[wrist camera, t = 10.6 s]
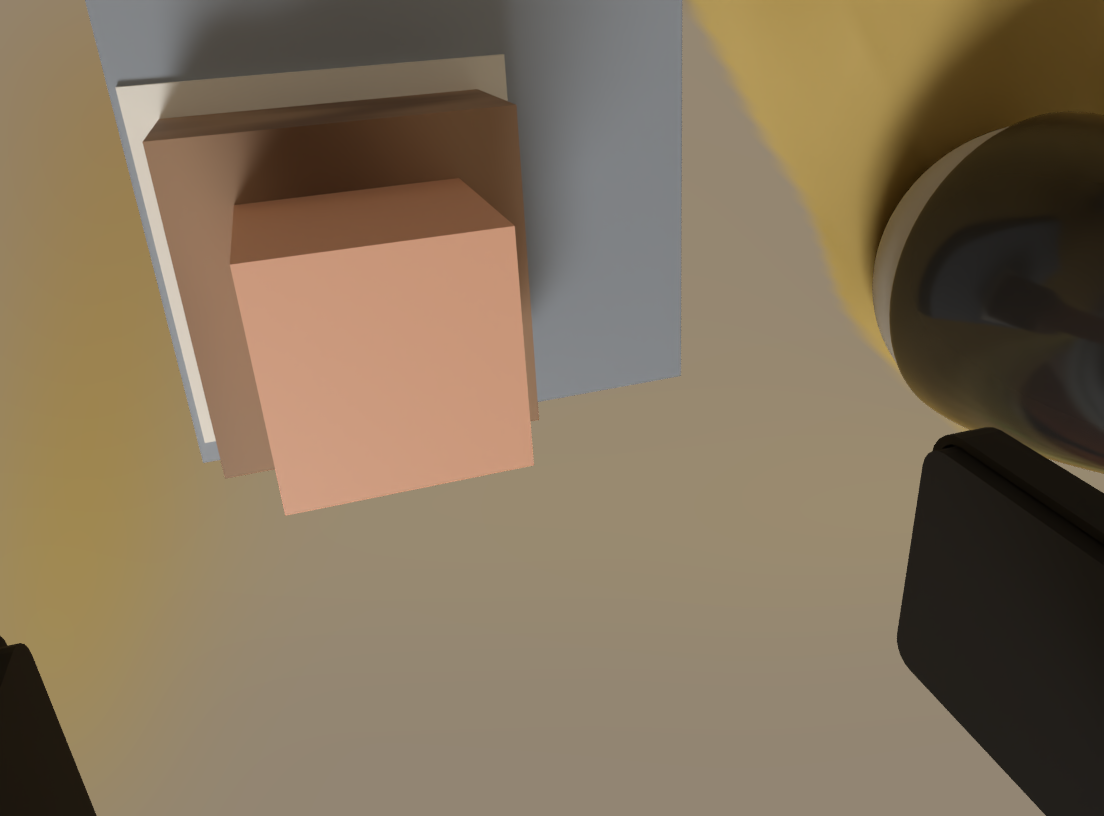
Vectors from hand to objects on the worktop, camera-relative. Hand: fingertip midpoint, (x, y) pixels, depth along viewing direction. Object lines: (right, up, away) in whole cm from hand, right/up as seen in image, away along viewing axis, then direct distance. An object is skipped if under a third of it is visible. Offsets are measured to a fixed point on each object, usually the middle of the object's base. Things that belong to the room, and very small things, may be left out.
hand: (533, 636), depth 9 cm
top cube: (-4, +5, +12) cm, 14 cm away
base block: (-5, +7, +15) cm, 18 cm away
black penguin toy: (+14, +8, +23) cm, 28 cm away
